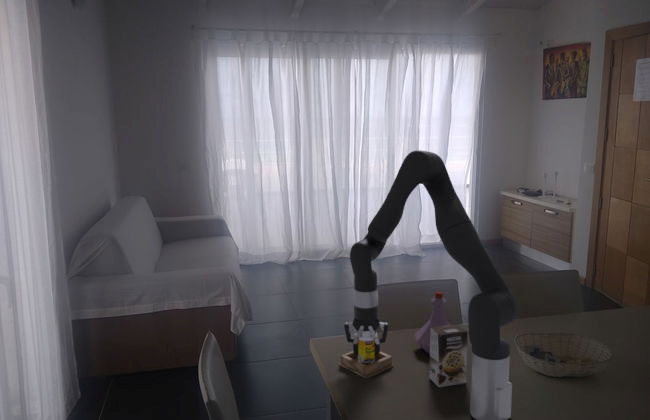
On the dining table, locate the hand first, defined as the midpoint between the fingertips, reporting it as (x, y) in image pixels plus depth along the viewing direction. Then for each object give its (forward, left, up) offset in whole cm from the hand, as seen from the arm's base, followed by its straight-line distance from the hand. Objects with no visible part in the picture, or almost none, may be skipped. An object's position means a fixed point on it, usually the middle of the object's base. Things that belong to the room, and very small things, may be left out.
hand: (366, 354), depth 161 cm
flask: (-8, -26, -4) cm, 27 cm away
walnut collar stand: (0, 0, -4) cm, 4 cm away
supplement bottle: (0, 0, -2) cm, 2 cm away
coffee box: (-23, -11, -4) cm, 26 cm away
